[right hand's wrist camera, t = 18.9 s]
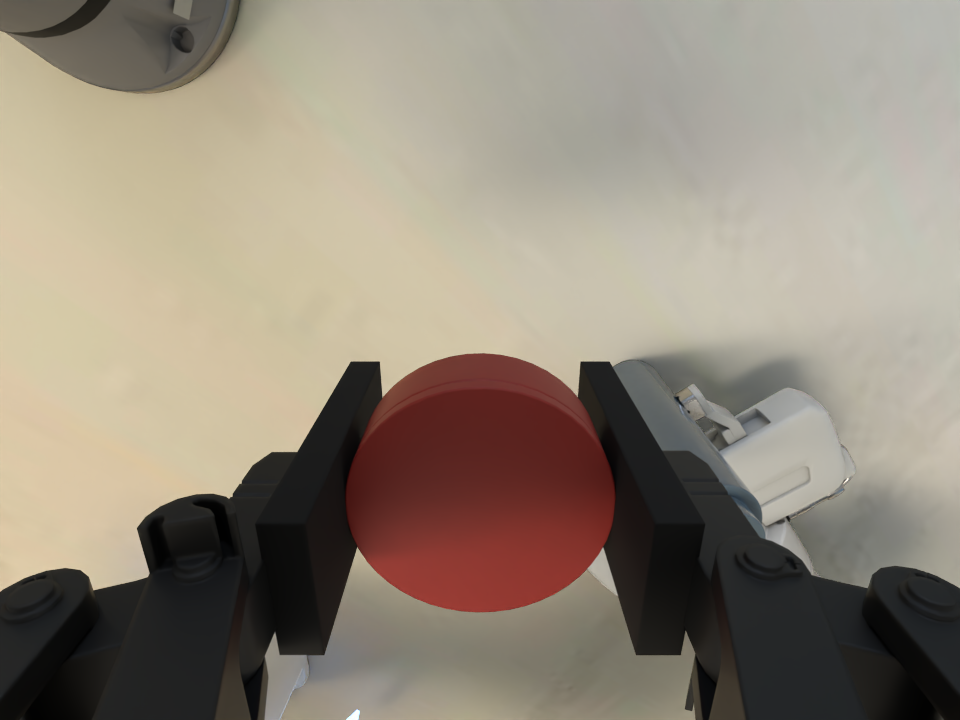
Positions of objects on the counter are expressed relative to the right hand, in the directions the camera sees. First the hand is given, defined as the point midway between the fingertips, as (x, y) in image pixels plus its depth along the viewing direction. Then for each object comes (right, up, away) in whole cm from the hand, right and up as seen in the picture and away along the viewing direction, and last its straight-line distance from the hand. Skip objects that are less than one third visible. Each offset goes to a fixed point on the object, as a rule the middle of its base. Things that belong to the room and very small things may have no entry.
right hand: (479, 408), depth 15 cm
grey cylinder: (+12, -1, +30) cm, 32 cm away
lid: (0, -2, -4) cm, 4 cm away
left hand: (+12, -3, +23) cm, 26 cm away
